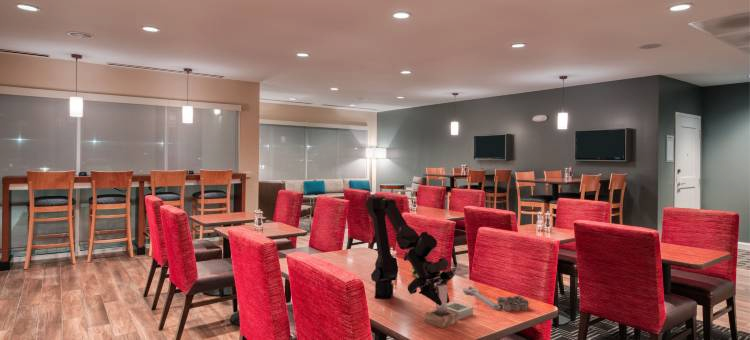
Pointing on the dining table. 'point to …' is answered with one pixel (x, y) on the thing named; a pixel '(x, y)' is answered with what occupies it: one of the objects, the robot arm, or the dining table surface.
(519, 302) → the grey jagged open ring
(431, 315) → the beige square ring
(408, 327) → the dining table surface
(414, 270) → the plastic component
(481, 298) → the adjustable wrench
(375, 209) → the robot arm
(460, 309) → the square hollow frame
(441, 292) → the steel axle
